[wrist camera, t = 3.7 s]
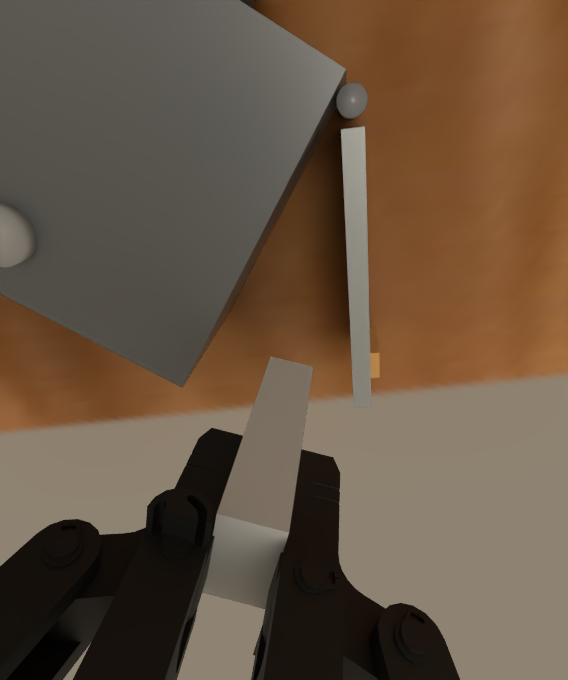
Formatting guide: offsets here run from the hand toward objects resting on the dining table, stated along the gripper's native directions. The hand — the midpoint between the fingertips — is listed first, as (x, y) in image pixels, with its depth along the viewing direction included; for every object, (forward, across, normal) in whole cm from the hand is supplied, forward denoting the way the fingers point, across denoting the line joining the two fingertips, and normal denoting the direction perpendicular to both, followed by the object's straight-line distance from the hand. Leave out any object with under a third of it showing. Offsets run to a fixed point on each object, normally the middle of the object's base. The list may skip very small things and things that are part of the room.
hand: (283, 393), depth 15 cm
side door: (+11, +2, +3) cm, 11 cm away
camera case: (+11, -8, +5) cm, 15 cm away
